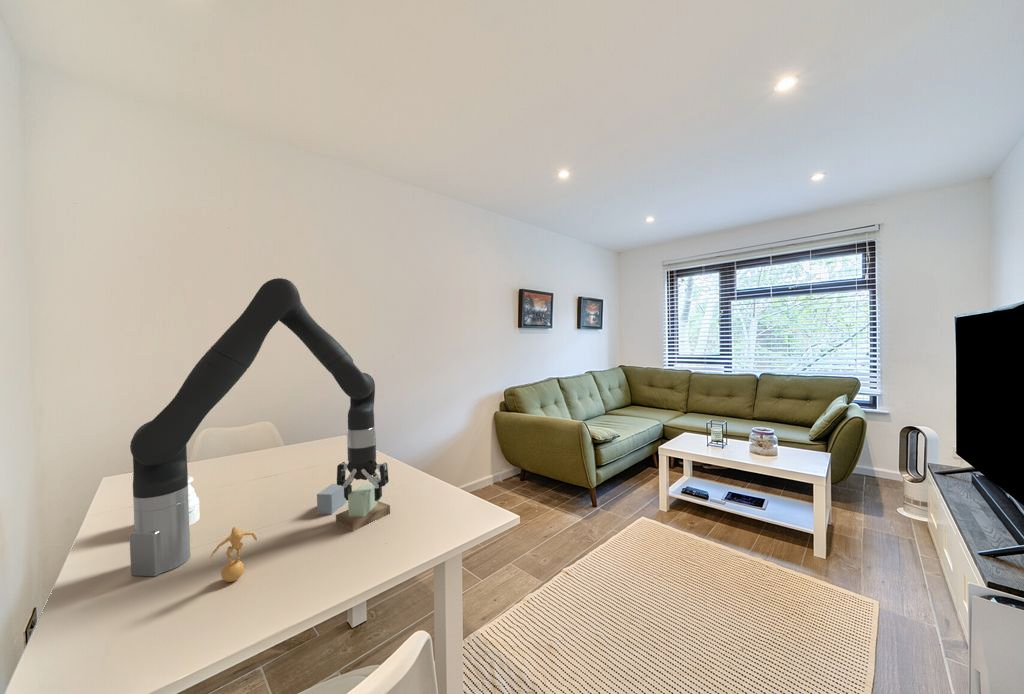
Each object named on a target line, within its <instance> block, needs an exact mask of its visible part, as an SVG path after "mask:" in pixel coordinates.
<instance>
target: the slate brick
mask: <svg viewBox="0 0 1024 694" xmlns="http://www.w3.org/2000/svg"><path fill="white" fill-rule="evenodd" d="M346 503H347V500H346V498H344V487H343V486H341V485H337V483H331V484H330V485H328V486H327V487H325V488H323V490H321V491H320V492H318V493H316V505H317V506H316V507H317V508H316V509H317V511H316V513H317V515H333V514H335V512H337V511H338V510H339V509H341V508H342V507H343V506H344V505H345V504H346Z"/></svg>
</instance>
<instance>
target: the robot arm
mask: <svg viewBox="0 0 1024 694" xmlns="http://www.w3.org/2000/svg"><path fill="white" fill-rule="evenodd" d="M278 322H280V323H282V324H283V325H284V326H285V327H287V328H288V329H289V330H290V331H291V332H292V333H293V334H295V335H296V337H297V338H298V339H299V340H300V341H301V342H302V343H303V344H304V345H305V347H306V348H307V349H308V351H310V353H311V354H313V356H314V357H315V358H316V359H317V361H318V362H320V364H321V365H322V366H323V367H324V368H325V369H326V370H327V371H328V373H330V374H331V375H332V376H333V378H334V380H335V381H336V383H337V384H338V386H339V387H340V388H341V390H342V391H343V392H344V393H345V394H346V395H347V396H348V397H349V402H350V406H349V409H348V413H347V434H346V435H347V437H346V439H347V442H346V443H347V461H348V463H347V462H345V461H343V462H341V463H339V464H338V465H337V466H336V484H337V485H341V486H343V487H344V498H346V501H348V495H349V494H350V493H351V492H352V491H353V486H352V483H353V481H355V480H356V481H359V480H364V481H367V480H368V482H369V484H373V485H374V486H375V489H374V495H375V501H380V499H381V498H382V497H383V487H385V486H386V485H387V484H388V483H389V480H390V479H389V470H388V468H389V467H388V463H387V462H384V463H377V437H376V430H375V428H376V427H375V413H374V408H375V407H374V405H375V397H376V396H375V395H376V383H375V380H374V378H373V376H371V375H370V374H369V373H366V372H362V371H361V370H360V369H359V368H358V366H356V365H357V364H355V363H354V359H353V357H352V356H351V354H349V353H348V352H347V350H346V349H345V348H344V347H343V346H342V345H341V343H339V341H337V340H336V339H335V338H334V336H332V335H331V334H330V333H328V332H327V331H326V329H324V328H323V327H321V326H320V325H319V323H318V322H317V321H315V319H313V317H312V316H311V314H310V313H309V312H308V310H307V309H306V307H305V305H304V304H303V302H302V301H301V295H300V292H299V290H298V288H297V286H296V285H295V284H294V282H292V281H291V280H288V279H286V278H283V277H281V278H280V277H277V278H272V279H270V280H267V281H266V282H265V283H263V284H262V285H261V287H259V289H258V290H257V292H255V295H254V296H253V298H252V299H251V301H250V302H249V304H248V305H247V306H246V308H245V310H244V311H243V312H242V313H241V314H240V315H239V317H238V318H237V319H236V320H235V321H234V322H233V323H232V324H231V325H230V326H229V327H228V328H227V330H226V331H224V332H223V334H221V336H220V337H219V338H218V339H217V341H216V342H214V344H213V345H211V347H210V348H208V350H207V351H206V352H205V354H204V355H202V357H200V359H199V360H198V362H197V363H196V364H195V366H194V367H193V368H192V369H191V371H190V372H189V374H188V375H187V376H186V379H185V380H184V382H183V383H182V385H181V387H180V388H179V390H178V392H177V393H176V395H175V396H174V397H173V398H172V399H171V401H170V402H169V403H168V404H167V405H166V406H165V407H164V408H163V409H162V410H161V411H160V412H159V413H158V414H157V415H156V416H155V417H154V418H153V419H152V420H150V421H148V422H146V423H144V424H143V425H141V426H140V427H138V428H137V430H136V431H135V432H134V434H133V436H132V438H131V441H130V446H129V447H130V448H129V449H130V453H131V456H132V464H133V465H132V466H133V469H132V471H133V474H132V496H133V497H132V498H133V499H132V500H133V527H134V530H133V531H130V532H129V554H130V555H129V556H130V558H129V559H130V561H129V562H130V575H131V576H141V577H142V576H144V577H146V576H147V577H157V576H159V575H160V574H162V573H165V572H168V571H171V570H174V569H175V568H177V567H180V566H182V565H183V564H184V563H186V562H187V561H188V560H189V559H190V557H191V538H190V535H191V533H190V526H189V502H188V476H189V473H188V471H189V470H188V457H187V455H188V453H187V451H188V450H187V444H188V443H189V441H190V440H191V438H192V437H193V435H194V433H195V432H196V430H197V429H198V427H199V426H200V425H201V423H202V421H203V420H204V419H205V417H206V416H207V415H208V414H209V413H210V411H212V409H213V408H214V407H215V406H216V405H217V404H218V403H219V402H220V401H221V400H222V399H223V398H224V397H225V396H226V395H227V394H228V393H229V391H231V389H232V388H233V387H234V386H235V385H236V384H237V383H238V381H240V379H241V378H242V377H243V375H244V374H245V373H246V372H247V370H248V369H249V368H250V367H251V365H252V364H253V362H254V361H255V359H256V358H257V356H258V353H259V352H260V350H261V347H262V346H263V343H264V342H265V339H266V337H267V336H268V334H269V333H270V331H271V330H272V329H273V327H275V325H276V324H277V323H278ZM377 470H378V472H379V474H378V473H377ZM346 471H348V472H349V473H350V474H349V475H348V476H347V478H346Z"/></svg>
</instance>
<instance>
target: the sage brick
mask: <svg viewBox="0 0 1024 694" xmlns="http://www.w3.org/2000/svg"><path fill="white" fill-rule="evenodd" d="M374 489H375V486H374V485H373V484H372V483H360V485H359V486H358V487H356V488H355V489H353V490H352V492H351V493H350V494H349V495H348V500H347V503H348V509H347V510H349V517H365V516H366V515H367V514H368V513H369V512H370V511H371V510H372V509H373V508H374V507H375V506H376V505H377V501H375V495H374Z"/></svg>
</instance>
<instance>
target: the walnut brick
mask: <svg viewBox="0 0 1024 694" xmlns="http://www.w3.org/2000/svg"><path fill="white" fill-rule="evenodd" d="M388 514H389V515H390V514H391V505H390V504H387V503H385V502H383V501H380V500H378V501H377V505H376V506H375V507H374V508H373V509H372V510H371V511H370V512H369V513H368V514H367V515H366V516H365V517H349V509H347V510H344V511H342V512H340V513H337V514H335V524H336V525H338V526H340V527H342V528H345V529H346V530H349V531H351V532H354V531H357V530H358V529H361V528H363V527H365V526H367V525H370V524H372V523H374V522H376V521H377V520H380V519H382V518H383V517H386V516H388ZM375 520H376V521H375ZM373 521H374V522H373ZM371 522H372V523H371ZM369 523H370V524H369Z"/></svg>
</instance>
